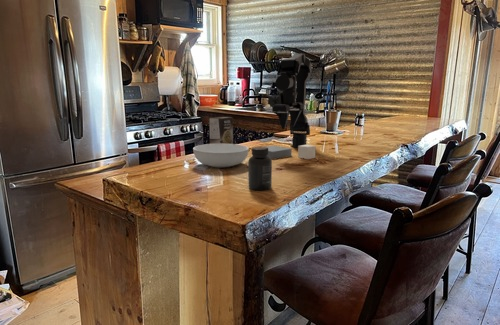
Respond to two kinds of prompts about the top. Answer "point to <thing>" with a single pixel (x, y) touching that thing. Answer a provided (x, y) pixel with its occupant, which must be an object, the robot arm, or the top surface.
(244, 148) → the serving bowl
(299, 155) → the cream cube
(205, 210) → the top surface
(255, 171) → the supplement bottle
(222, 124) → the coffee box
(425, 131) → the top surface
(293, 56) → the robot arm
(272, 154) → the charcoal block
